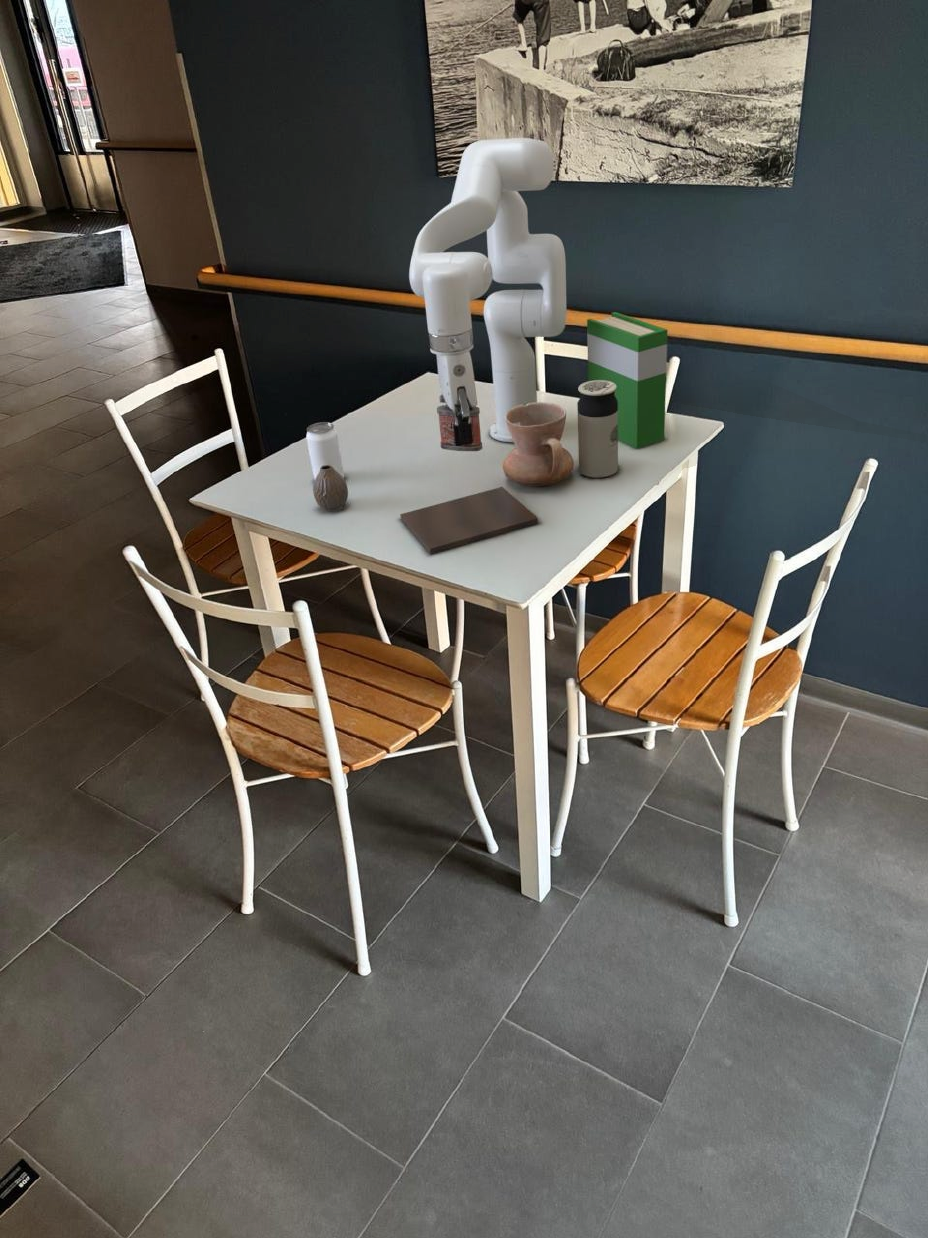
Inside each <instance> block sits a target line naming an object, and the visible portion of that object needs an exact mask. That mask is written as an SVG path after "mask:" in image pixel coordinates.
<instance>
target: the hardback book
mask: <svg viewBox="0 0 928 1238" xmlns="http://www.w3.org/2000/svg"><path fill="white" fill-rule="evenodd" d="M668 332H669V331H668V328H664V327H662V326H658V325H655V324H651V323H649V322H646V321H644V320H641V319H637V318H634V317H631V316H629V315H625V314H622V313H620V312H617V311H616V312H615V311H614V312H611V316H610V317H606V318H603V319H599V320H596V319H594V318H587V319H586V335H587V336H586V337H587V339H586V340H587V382H589V381H595V380H604V381H610V382H613V383H615V384H616V386H617V388H616V390H615V394H614V395H615V397H616V399H617V401H618V441H620V442H622V443H624V444H626V445H628V446H630V447H633V448H634V449H637V450H638V449H641V448H644V447H646V446H649V445H652V444H656V443H659V442H661V441H664V440H665V425H666V424H665V423H666V419H665V418H666V398H667V397H666V392H667V390H666V389H667V365H668V364H667V361H668V358H667V357H668Z"/></svg>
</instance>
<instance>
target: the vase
mask: <svg viewBox="0 0 928 1238" xmlns="http://www.w3.org/2000/svg"><path fill="white" fill-rule="evenodd" d="M312 492H313V497H314V500H315V502H316V504H317V505H318V506H319V507H320V508H321V509H323V510H325V511H326V512H335V511H338V510H340V509H342V508H343V507H344V506H345V505H346V503H347V501H348V497H349V489H348V485H347V482H346V480H345V477H344V478H343V477H342V476H341V475H340V474H339V473H338V472H337V471H336V470H335V469H334V468H333V467H332V466H331V465H324V466H322V467H321V468H320V471H319V473H318V475H317V477H316V479H315V480H314V481H313V485H312Z"/></svg>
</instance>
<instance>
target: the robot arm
mask: <svg viewBox="0 0 928 1238" xmlns="http://www.w3.org/2000/svg"><path fill="white" fill-rule="evenodd" d="M554 163H555V162H554V156H553V152H552V149H551V148H550V146H549V144H548V143H547V142H546V141H543V140H540V139H534V138H529V137H510V138H493V139H482V140H477V141H474V142H472V143H470V144H469V145H468V146H467V147H466V148H465V149H464V151H463V153H462V155H461V159H460V162H459V167H458V171H457V176H456V179H455V183H454V188H453V192H452V195H451V201H450V203H448V204H447V205H446V206H444V207H443V208H442V209H440V210H439V211H438V212H437V213H436V214H435V215H434V216H433V217H432V218H431V219H429V221H428V222H426V224H425V225H423V227H422V229H421V230H420V231H419V233H418V235H417V237H416V239H415V243H414V246H413V250H412V253H411V254H412V255H411V259H410V264H409V270H408V271H409V272H408V280H409V285H410V288H411V291H412V292H413V293H414V294H415V295H416V296H417V297H419V298H422V299H424V304H425V305H424V306H425V315H426V325H427V332H428V333H427V335H428V342H429V349H430V350H429V351H430V353H432V354H434V355H436V365H437V374H438V383H439V384H438V385H439V390H440V395H442V394H443V396H444V399H445V402H446V403H445V405H448V406H449V408H450V409H452V410H453V415H454V422H455V424H454V425H453V429H454V439H455V445H456V446H462V445H468V444H472V443H473V438H472V427H471V420H470V412H469V405H468V402H469V403H470V405H471V406H473V407H478V406H477V405H478V397H477V388H476V382H475V372H474V367H473V361H472V355H471V352H470V351H471V350H472V349H474V335H473V324H472V314H471V301H473V300H476V299H479V298H481V297H482V296H484V294H486V292H487V291H488V290H489V289H490V286H491V285H492V282H493V281H494V282H496V283H499V284H506V285H514V284H515V285H519V284H521V285H525V284H526V285H527V284H539V285H540V286H541V287H542V289H504V290H498V291H494V292H492V293H491V294H489V295H488V296H487V298H486V299H485V301H484V304H483V305H484V306H483V319H484V325H485V327H486V332H487V336H488V340H489V347H490V358H491V370H492V372H491V373H492V384H493V398H494V413H495V414H494V415H495V422H494V423H493V424H492V425H491V426H490V428H489V434H490V437H492V438H493V439H494V440H496V441H499V442H505V443H514V441H513V439H512V437H511V435H510V432H509V430H508V427H507V424H506V419H505V416H506V413H507V412H508V411H509V410H510V409H512V408H514V407H516V406H519V405H524V406H526V405H527V404H528V403H536V402H538V391H537V390H538V389H537V371H536V370H537V369H536V355H535V352H534V350H533V348H532V346H531V344H530V343H529V341H528V340H527V339H526V338H549V337H550V338H552V337H557V336H559V335H560V334H562V333H563V331H564V330H565V328H566V324H567V263H566V261H567V260H566V251H565V247H564V244H563V241H562V239H561V238H560V236H557V235H555V234H552V233H530V232H529V231H530V230H529V218H528V215H529V214H528V213H529V212H528V207H527V204H526V202H525V200H524V198H523V197H522V195H521V194H520V193H519V192H527V191H528V192H529V191H530V192H531V191H542V190H545V189H547V188H548V186H549V185H550V183H551V181H552V179H553V176H554V169H555V164H554ZM484 232H485V233H486V245H487V246H486V247H487V256H486V255H485V254H483V253H481V252H478V251H477V252H476V251H446V250H448V249H450V248H451V247H453V246H455V245H458V244H460V243H463V242H465V241H468V240H470V239H472V238H475V237H476V236H478V235H481V234H483V233H484ZM457 404H459V405H460V407H455V405H457ZM457 411H461V414H459V415H457ZM514 424H515V425H519V422H518V423H514Z"/></svg>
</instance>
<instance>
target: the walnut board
mask: <svg viewBox="0 0 928 1238" xmlns="http://www.w3.org/2000/svg"><path fill="white" fill-rule="evenodd" d="M399 515H400V520H401V522H402V523H403V525H405V526H406V527H407V528H408V530H409V531H410V532H411V533H412V534H413V536H414V537H415V538H416V539H417V540H418V541H419V543H421V545H422V546H423V548H425V549H426V551H427V552H428V553H429V554H430V555H433V554H437V553H440V552H443V551H447V550H451V549H455V548H458V547H461V546H465V545H467V544H468V545H469V544H471V543H475V542H478V541H482V540H485V539H489V538H493V537H497V536H500V535H503V534H507V533H510V532H513V531H517V530H520V529H525V528H527V527H530V526H534V525H538V524H539V518H538V516H536V515H535V514H534V513H533V512H532V511H531V510H529V509H528V508H527V507H526V506H525V505H524V504H522V502H520V501H519V500H518V499H517V498H516V497H515V496H513V495H512V494H511V493H510V491H508V490H507V489H506V488H504V487H503V486H500V487H496V488H492V489H489V490H485V491H481V492H478V493H474V494H470V495H466V496H463V497H459V498H455V499H451V500H448V501H444V502H439V503H437V504H433V505H429V506H426V507H422V508H418V509H414V510H411V511H408V512H403V513H400V514H399Z"/></svg>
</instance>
